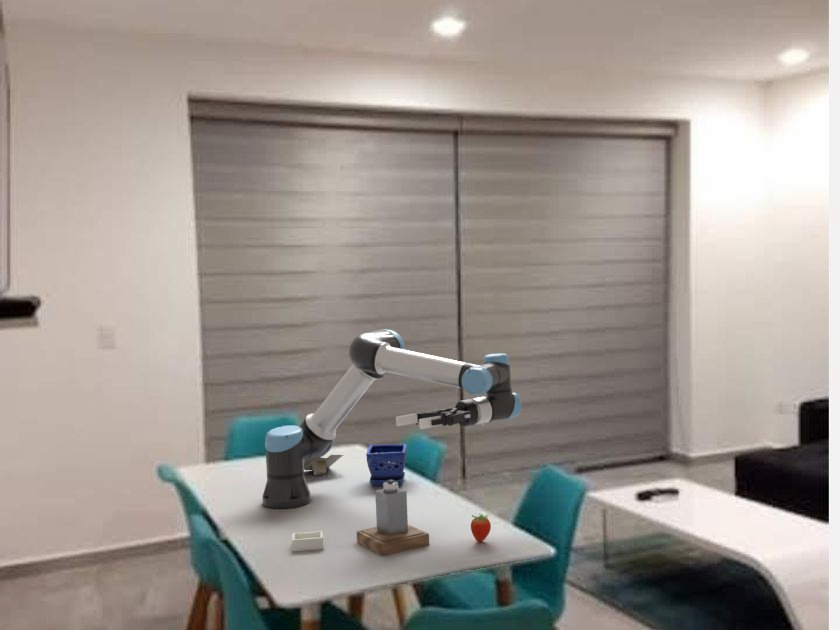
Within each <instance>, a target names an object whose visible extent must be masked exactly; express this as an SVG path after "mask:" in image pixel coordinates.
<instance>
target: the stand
mask: <svg viewBox="0 0 840 630" xmlns="http://www.w3.org/2000/svg"><path fill="white" fill-rule="evenodd" d="M356 543H357V544H359V545H361V546H363V547H365V548H367V549H369V550H371V551H373V552H375V553H377V554H379V555H381V556H382V557H385V556H389V555H394V554H397V553H402V552H406V551H410V550H414V549H415V550H416V549H418V548H423V547H426V546H430V533H428V532H426V531H424V530H421V529H419V528H417V527H414V526H412V525H410V524H408V532H406V533H402V534H397V535H393V536H389V537H388V536H386V535H384V534H382V533H380V532H378V531H377V526H375V527H369V528H365V529H360V530H357V531H356Z"/></svg>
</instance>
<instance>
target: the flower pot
mask: <svg viewBox="0 0 840 630" xmlns="http://www.w3.org/2000/svg"><path fill="white" fill-rule="evenodd" d="M407 446H408V445H407V444H406V443H391V444H389V443H385V444H370V445H369V446H368V448H367V450H366V454H365V455H366V463H367V467H368V470H369V473H370V475H371V476H370V477H369V483H370V484H371V485H372V486H374V487H380V486H381V487H383V483H384V482H387V480H394V482H398V486H401V485H402V484H403V483H404V480H405V471H404V470H405V466H406V462H407V451H408V447H407Z"/></svg>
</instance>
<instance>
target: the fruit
mask: <svg viewBox="0 0 840 630" xmlns="http://www.w3.org/2000/svg"><path fill="white" fill-rule="evenodd" d="M471 517H472V518H473V519H472V521H471V523H470V531H471V534H472V536H473V537H474V539H475V540H476V542H478V543H482V542H483V541H484V540H486V538H487V537H488V536H489V534H490V532H491V530H492V529H491V528H492V526H491V525H492V524H491V522H490V520H489V516H488V514H487V515H484V514H483V513H482V514H479V515H478V516H476V515H475V516H474V515H473V514H471Z"/></svg>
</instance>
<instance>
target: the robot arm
mask: <svg viewBox="0 0 840 630" xmlns="http://www.w3.org/2000/svg"><path fill="white" fill-rule="evenodd" d="M405 347H406V346H405V342H404V340H403V338H402V337H401V335H400V334H399V333H397V332H396V331H394V330H392V329H379V330H375V331H370V332H364V333H361V334H358V335H357V336H355V337H354V338H353V340H352V341H351V343H350V345H349V347H348V356H349V360H350V362H351V363H352V365H351V366H350V367H349V368H348V370H346V372H345V374H344V375H343V376H342V378H341V379H340V380H339V381H338V382H337V384H336V385H335V386H334V388H333V389H332V390H331V392H330V393H329V394H328V396H326V398H325V400H324V401H323V402H322V403H321V405H319V407H318V408H317V410H316V411H315V412H314V413H308V414H307V415H306V417H305V418H304V419H303V420H302V421H301V422H300V424H299V425H292V424H291V425H290V424H289V425H282V426H278V427H274V428H272V429H270V430H269V431H267V432H266V435H265V443H264V448H265V460H266V462H265V463H266V464H265V465H266V483H265V486H264V490H263V493H262V501H261V502H262V505H263V507H266V508H270V509H290V508H291V509H292V508H296V507H297V508H298V507H301V506H302V507H303V506H305V505H308V504H309V503H310V502H311V501H312V499H311V496H312V495H311V491H310V488H309V486H308V483H307V480H306V479H305V470H304V463H306V462H308V461H311V460H313V459H317V458H323V457H324V456H325V455H327V454H328V453H329V452H330V451H331V449H332V447H333V445H334V443H335V442H334V441H335V440H334V439H336V436H337V431H336V430H337V428H338V427H339V425H340V424H341V423H342V422H343V421H344V419H346V417H347V415H348V414H349V413H350V411H352V409H353V408H354V407H355V406H356V404H357V403H358V401H360V399H361V397H362V396H363V395H364V394H365V393H366V392H367V390H368V389H370V388H369V387H370V386H371V385H372V384H373V383H374V382H375V381H376V380H382V379H383V378H384V377H385V376H386V374H387V373H389V374H394V375H397V376H398V375H399V376H403V377H407V378H411V379H415V380H416V379H417V380H421V381H425V382H431V383H435V384H439V385H444V386H449V387H453V388H458V389H461V390H462V389H463V390H465V391H466V393H469V394H470V395H473V396H474V395H475V396H476V395H483V394H485V393H486V396H479V397H475V398H474V397H473V398H471V399H470V398H468V399H463V400H458V401H457V402H456V404H455V407H454V408H453V407H447V408H443V409H437V410H427V411H420V412H419V411H418V412H417V411H415V412H413V413H410V414H404V415H399V416H395V424H396V427H402V426H408V425H412V424H413V425H414V424H415V425H416V426H417V425H418V427H419V430H425V429H431V428H438V427H442V426H444V427H445V426H451V427H452V426H453V425H457V424H459V425H460V426H461V427H463V428H465V427H471V426H475V425H481V426H484V425H485V424H486V423H492V422H497V421H502V420H503V421H504V420H509V419H513V418H516V417H518V416H519V415H520V414H521V412H522V407H523V406H522V401H521V398H520V396H519V394H517V392H513V390H512V376H511V364H510V359H509V358H510V357H509V355H508V354H507V353H490V354H485V355H484V357H483V364H481V365H479V364H474V363H472V362H471V363H470V362H467V361H466V362H465V361H462V360H461V361H459V360H455V359H452V358H446V357H441V356H436V355H432V354H427V353H423V352H416V351H413V350H408V349H406V348H405Z"/></svg>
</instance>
